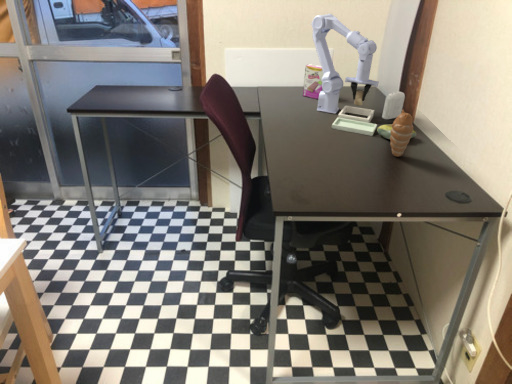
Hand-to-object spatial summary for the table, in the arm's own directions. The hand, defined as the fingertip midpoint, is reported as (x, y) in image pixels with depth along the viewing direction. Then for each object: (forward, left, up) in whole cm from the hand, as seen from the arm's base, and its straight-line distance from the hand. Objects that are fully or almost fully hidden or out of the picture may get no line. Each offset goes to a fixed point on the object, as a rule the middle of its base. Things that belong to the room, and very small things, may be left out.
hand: (358, 99), depth 188 cm
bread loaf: (0, 0, -2) cm, 2 cm away
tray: (+2, -13, -9) cm, 16 cm away
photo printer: (+15, +10, -9) cm, 20 cm away
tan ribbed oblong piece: (+23, -34, -9) cm, 42 cm away
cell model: (+20, -15, -9) cm, 27 cm away
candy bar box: (-27, +21, -9) cm, 35 cm away
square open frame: (0, 0, -9) cm, 9 cm away
